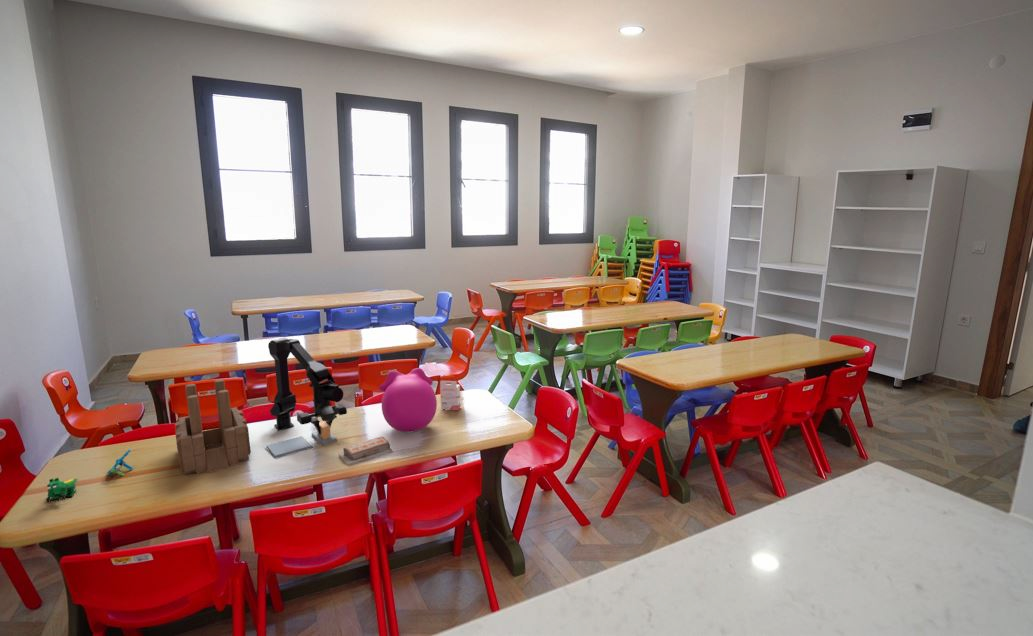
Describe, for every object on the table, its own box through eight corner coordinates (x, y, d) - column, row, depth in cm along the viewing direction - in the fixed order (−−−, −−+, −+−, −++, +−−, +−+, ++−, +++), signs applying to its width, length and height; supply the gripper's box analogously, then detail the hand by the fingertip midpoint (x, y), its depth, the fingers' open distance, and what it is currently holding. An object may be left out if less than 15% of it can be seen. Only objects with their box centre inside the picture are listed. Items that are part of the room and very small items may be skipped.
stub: (311, 435, 218) (310, 421, 217) (326, 431, 222) (325, 418, 220) (322, 444, 209) (321, 430, 208) (336, 440, 213) (335, 426, 211)
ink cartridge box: (461, 407, 249) (460, 378, 246) (458, 411, 244) (457, 381, 241) (443, 406, 250) (442, 377, 247) (440, 410, 245) (439, 380, 242)
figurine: (431, 415, 239) (429, 363, 234) (443, 435, 217) (441, 378, 212) (379, 422, 231) (376, 368, 226) (386, 444, 209) (382, 385, 204)
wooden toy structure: (181, 479, 182) (170, 405, 177) (178, 448, 207) (169, 383, 201) (253, 461, 195) (245, 392, 190) (242, 434, 219) (235, 373, 214)
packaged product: (381, 433, 209) (392, 441, 202) (382, 444, 210) (393, 452, 203) (337, 445, 198) (347, 454, 190) (338, 457, 199) (348, 466, 191)
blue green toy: (115, 461, 192) (132, 443, 191) (130, 469, 194) (147, 452, 193) (98, 479, 182) (116, 460, 181) (114, 488, 184) (132, 469, 183)
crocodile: (63, 482, 181) (59, 458, 179) (84, 478, 183) (80, 455, 182) (43, 510, 163) (38, 485, 162) (67, 506, 166) (62, 480, 164)
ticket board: (266, 447, 207) (266, 445, 206) (302, 438, 215) (302, 435, 215) (275, 458, 198) (275, 455, 197) (312, 447, 206) (312, 444, 206)
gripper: (304, 408, 200) (307, 446, 203) (350, 397, 212) (353, 433, 215) (295, 400, 208) (298, 437, 211) (340, 391, 220) (343, 425, 223)
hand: (323, 433), depth 215 cm, fingers closed on stub, 3 cm apart
